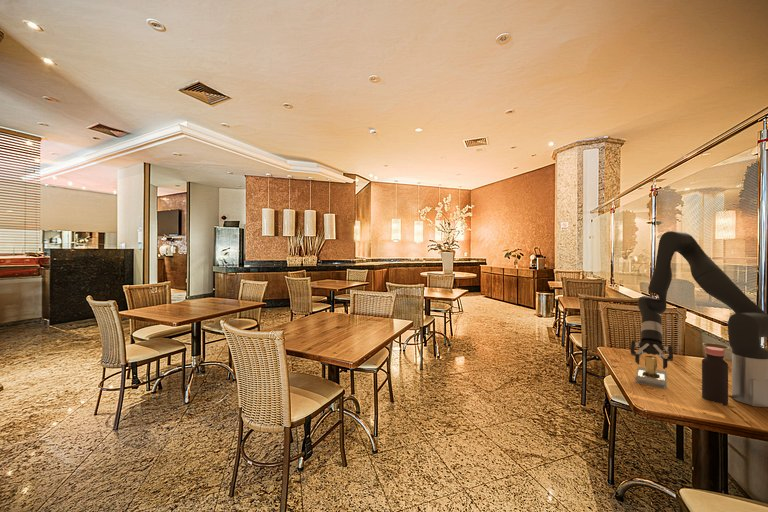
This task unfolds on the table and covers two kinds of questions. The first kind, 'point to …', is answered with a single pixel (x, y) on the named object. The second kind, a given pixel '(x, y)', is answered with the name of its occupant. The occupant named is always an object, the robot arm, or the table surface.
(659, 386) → the grey base plate
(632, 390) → the table surface
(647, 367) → the pin
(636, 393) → the table surface
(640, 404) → the table surface
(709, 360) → the bottle
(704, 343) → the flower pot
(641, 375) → the collar
